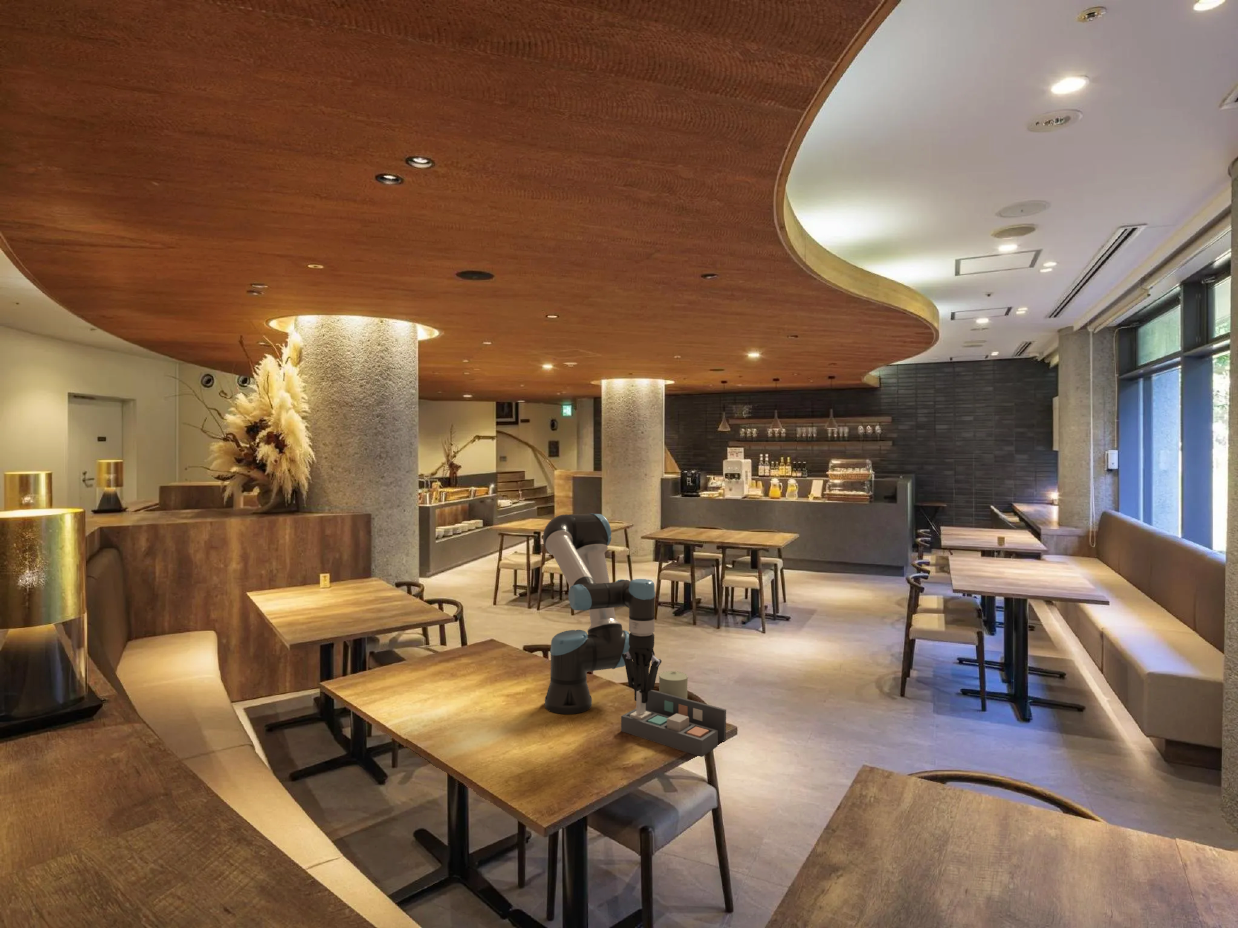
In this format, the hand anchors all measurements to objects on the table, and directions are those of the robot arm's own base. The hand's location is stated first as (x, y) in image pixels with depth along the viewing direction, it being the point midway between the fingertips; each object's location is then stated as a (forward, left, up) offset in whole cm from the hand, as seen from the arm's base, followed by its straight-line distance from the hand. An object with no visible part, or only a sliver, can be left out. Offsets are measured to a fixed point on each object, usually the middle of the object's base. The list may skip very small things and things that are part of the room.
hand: (640, 712), depth 201 cm
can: (0, +18, -5) cm, 19 cm away
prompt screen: (+10, +9, -5) cm, 14 cm away
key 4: (+19, 0, -5) cm, 20 cm away
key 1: (0, 0, -4) cm, 4 cm away
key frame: (+10, 0, -5) cm, 11 cm away
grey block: (+13, 0, -2) cm, 13 cm away
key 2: (+6, 0, -5) cm, 8 cm away
